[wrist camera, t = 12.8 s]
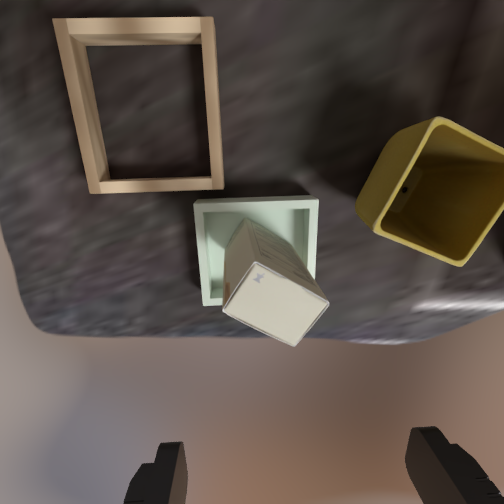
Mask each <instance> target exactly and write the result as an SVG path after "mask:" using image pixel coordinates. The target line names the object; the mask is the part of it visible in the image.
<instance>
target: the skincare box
mask: <svg viewBox="0 0 504 504" xmlns="http://www.w3.org/2000/svg"><path fill="white" fill-rule="evenodd" d="M328 306H329V301H328V300H327V298H326V297H325V295H324V294H323V292H322V291H321V289H320V288H319V286H318V284H317V283H316V281H315V280H314V278H313V277H312V275H311V274H310V272H309V271H308V269H307V268H306V266H305V265H304V263H303V261H302V260H301V258H300V257H299V255H298V254H297V252H296V251H295V249H294V248H293V246H292V245H291V244H290V243H288V242H287V241H285V240H283V239H282V238H280V237H279V236H277V235H275V234H274V233H272V232H270V231H269V230H267V229H265V228H264V227H262V226H260V225H258V224H257V223H255V222H253V221H251V220H249V219H248V218H244V219H243V221H242V222H241V224H240V225H239V227H238V228H237V230H236V231H235V233H234V234H233V236H232V237H231V239H230V241H229V242H228V244H227V246H226V248H225V253H224V274H223V300H222V311H223V312H224V313H226V314H228V315H229V316H231V317H233V318H235V319H236V320H238V321H240V322H242V323H244V324H246V325H248V326H250V327H252V328H254V329H256V330H258V331H260V332H262V333H265V334H267V335H269V336H271V337H273V338H275V339H277V340H280V341H282V342H284V343H286V344H289V345H291V346H293V347H294V346H296V345H297V343H298V342H299V341H300V340H301V339H302V338H303V336H304V335H305V334H306V333H307V332H308V331H309V329H310V328H311V327H312V326H313V325H314V323H315V322H316V321H317V320H318V319H319V317H320V316H321V315H322V314H323V312H324V311H325V310H326V309H327V308H328Z"/></svg>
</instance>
